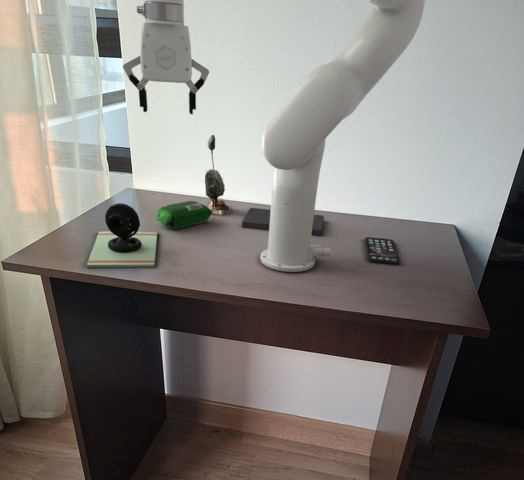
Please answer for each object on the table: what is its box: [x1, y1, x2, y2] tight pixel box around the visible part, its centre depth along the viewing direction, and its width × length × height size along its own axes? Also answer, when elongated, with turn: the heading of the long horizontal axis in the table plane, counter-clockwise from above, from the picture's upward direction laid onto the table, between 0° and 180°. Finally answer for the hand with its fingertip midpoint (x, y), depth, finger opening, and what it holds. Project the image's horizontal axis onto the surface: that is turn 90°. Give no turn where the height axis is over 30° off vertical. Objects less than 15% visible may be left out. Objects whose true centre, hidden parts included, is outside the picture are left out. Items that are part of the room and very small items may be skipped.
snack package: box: [156, 200, 213, 230], centre depth 127 cm, size 7×16×5 cm, turn 131°
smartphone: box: [364, 236, 401, 265], centre depth 120 cm, size 7×1×15 cm
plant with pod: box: [204, 134, 231, 216], centre depth 133 cm, size 8×11×20 cm
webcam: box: [104, 202, 142, 253], centre depth 108 cm, size 8×8×10 cm
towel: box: [86, 231, 158, 268], centre depth 111 cm, size 14×20×1 cm
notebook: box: [241, 207, 325, 236], centre depth 133 cm, size 13×2×21 cm
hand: (168, 112), depth 104 cm, fingers open, 9 cm apart
